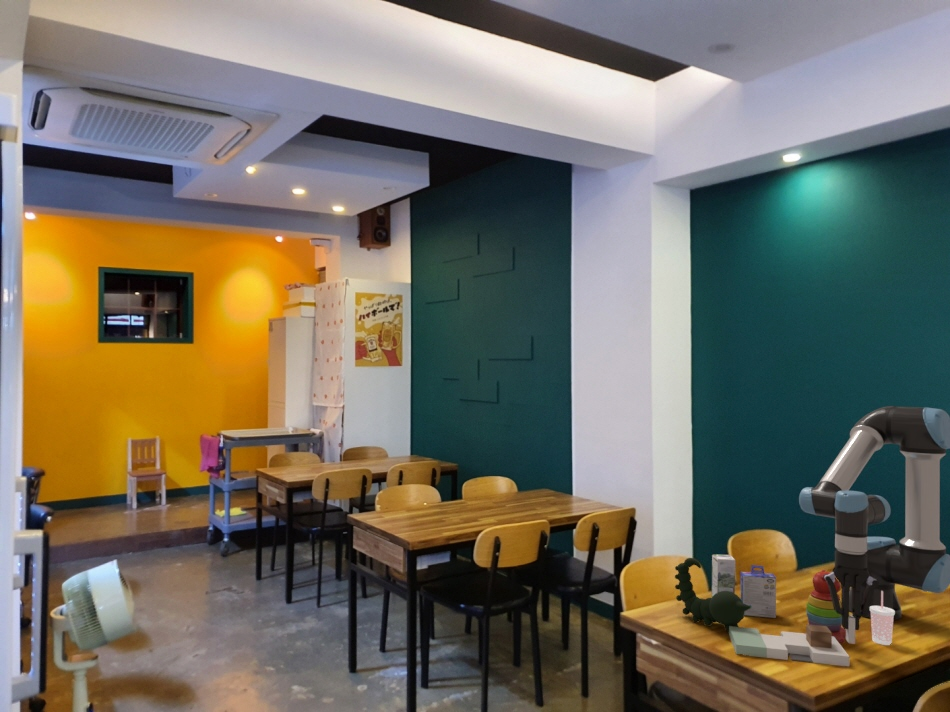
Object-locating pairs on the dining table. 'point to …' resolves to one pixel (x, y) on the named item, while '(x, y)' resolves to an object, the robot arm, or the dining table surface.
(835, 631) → the stacking bear
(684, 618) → the dining table surface
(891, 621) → the beverage cup
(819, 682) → the dining table surface
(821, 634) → the walnut block
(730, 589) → the syrup box
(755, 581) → the ink cartridge box
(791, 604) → the dining table surface
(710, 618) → the toy figurine
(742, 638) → the trap deck
